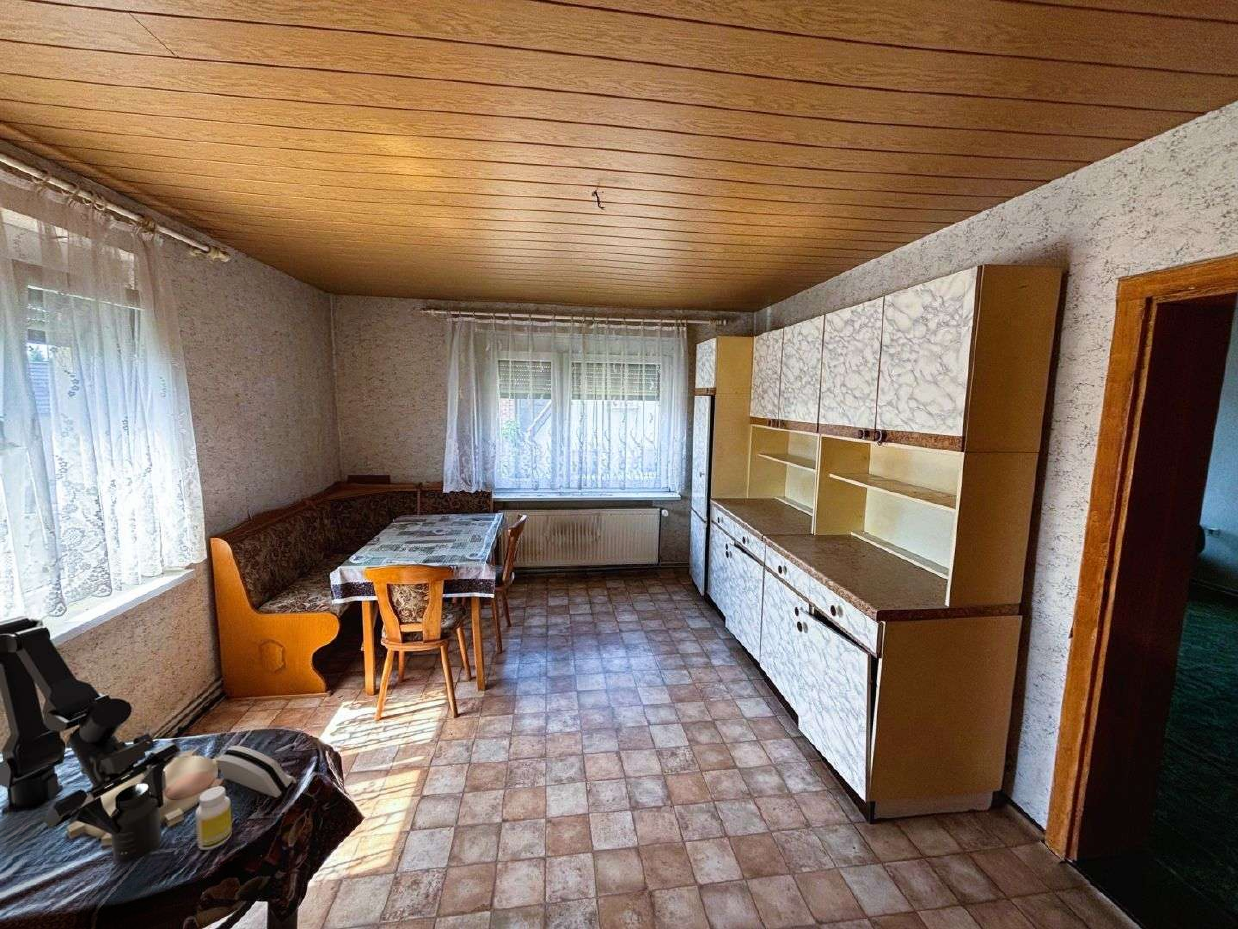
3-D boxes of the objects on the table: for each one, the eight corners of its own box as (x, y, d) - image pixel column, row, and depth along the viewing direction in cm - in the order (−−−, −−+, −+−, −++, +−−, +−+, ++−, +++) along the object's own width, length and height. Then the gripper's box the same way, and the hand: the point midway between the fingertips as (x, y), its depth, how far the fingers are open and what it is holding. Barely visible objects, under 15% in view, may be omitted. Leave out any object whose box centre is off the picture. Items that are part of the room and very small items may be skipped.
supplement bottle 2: (238, 833, 104) (236, 787, 103) (209, 854, 99) (206, 807, 98) (220, 825, 105) (217, 780, 104) (190, 846, 100) (187, 799, 99)
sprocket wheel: (27, 855, 97) (25, 833, 97) (127, 762, 123) (126, 745, 122) (186, 835, 103) (184, 814, 102) (250, 750, 128) (249, 733, 128)
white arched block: (297, 782, 118) (281, 753, 114) (279, 802, 114) (262, 773, 110) (246, 764, 123) (229, 735, 119) (227, 782, 119) (208, 753, 115)
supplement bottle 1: (134, 835, 102) (129, 779, 101) (171, 833, 103) (166, 777, 102) (102, 866, 96) (97, 806, 94) (142, 864, 96) (137, 804, 95)
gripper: (47, 761, 89) (92, 839, 87) (171, 704, 107) (211, 767, 104) (26, 791, 93) (68, 867, 90) (149, 731, 110) (187, 793, 108)
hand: (139, 819), depth 98 cm, fingers closed on supplement bottle 1, 7 cm apart
